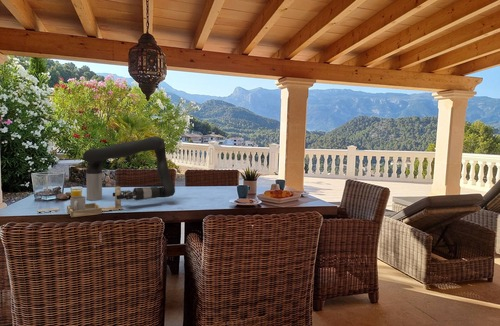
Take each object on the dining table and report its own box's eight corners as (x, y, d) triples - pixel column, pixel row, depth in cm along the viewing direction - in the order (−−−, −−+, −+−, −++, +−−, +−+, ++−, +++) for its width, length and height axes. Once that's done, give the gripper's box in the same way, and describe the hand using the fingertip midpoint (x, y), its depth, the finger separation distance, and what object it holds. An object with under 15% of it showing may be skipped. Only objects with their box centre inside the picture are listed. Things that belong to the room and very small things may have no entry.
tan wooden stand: (66, 211, 185) (66, 188, 184) (118, 205, 201) (117, 184, 200) (71, 217, 173) (70, 193, 172) (125, 210, 190) (125, 188, 188)
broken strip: (37, 211, 184) (37, 209, 183) (88, 206, 199) (88, 204, 199) (38, 213, 180) (38, 211, 179) (90, 207, 195) (90, 206, 195)
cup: (86, 211, 187) (86, 196, 186) (82, 216, 177) (82, 199, 176) (72, 211, 185) (72, 196, 184) (67, 216, 176) (67, 200, 175)
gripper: (138, 185, 207) (111, 187, 198) (146, 189, 196) (118, 191, 186) (138, 197, 208) (111, 200, 199) (146, 201, 197) (118, 204, 187)
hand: (114, 196), depth 192 cm, fingers open, 8 cm apart
